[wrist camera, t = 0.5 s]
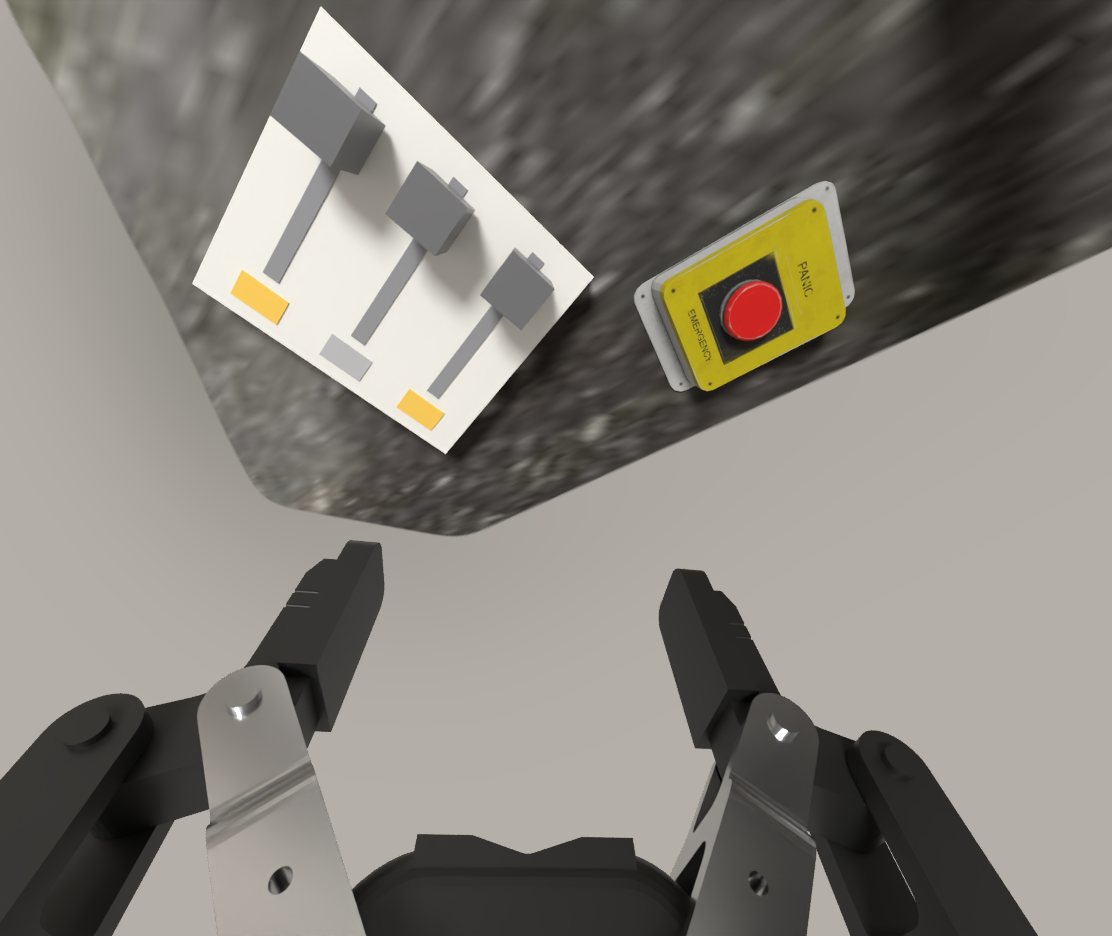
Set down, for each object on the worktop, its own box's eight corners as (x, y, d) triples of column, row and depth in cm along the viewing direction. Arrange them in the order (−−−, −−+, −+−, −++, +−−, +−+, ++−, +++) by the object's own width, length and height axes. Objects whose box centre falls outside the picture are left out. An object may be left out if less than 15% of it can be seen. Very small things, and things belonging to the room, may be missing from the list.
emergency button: (640, 299, 29) (871, 167, 26) (627, 290, 32) (827, 174, 30) (689, 413, 33) (893, 310, 30) (672, 393, 37) (851, 301, 34)
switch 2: (432, 169, 25) (417, 160, 21) (475, 209, 26) (467, 207, 22) (404, 215, 26) (385, 213, 22) (446, 252, 27) (434, 256, 23)
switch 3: (514, 247, 27) (512, 250, 24) (551, 281, 28) (554, 289, 25) (485, 286, 28) (479, 295, 25) (521, 317, 29) (521, 330, 26)
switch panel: (343, 29, 24) (319, 5, 22) (588, 272, 31) (593, 277, 28) (221, 278, 30) (191, 283, 27) (451, 437, 37) (445, 454, 34)
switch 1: (334, 77, 23) (299, 50, 19) (385, 125, 24) (361, 108, 20) (307, 131, 24) (269, 115, 20) (358, 175, 25) (330, 167, 21)
